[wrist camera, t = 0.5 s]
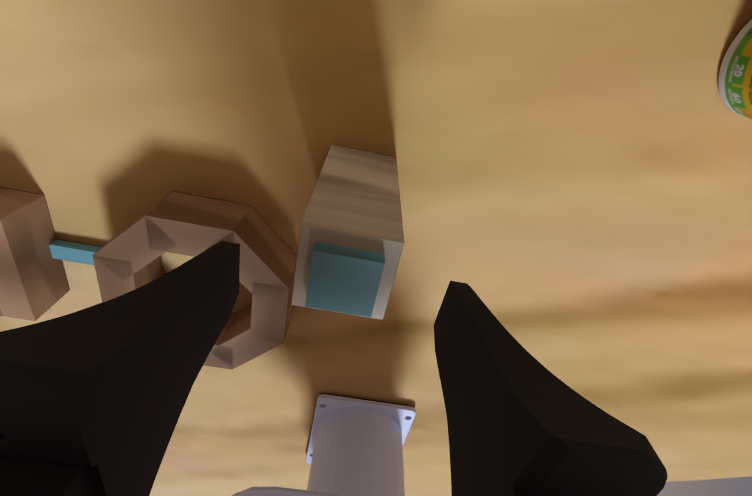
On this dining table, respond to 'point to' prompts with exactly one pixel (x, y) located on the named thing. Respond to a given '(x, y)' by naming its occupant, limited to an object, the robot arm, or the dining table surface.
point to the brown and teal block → (350, 235)
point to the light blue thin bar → (73, 251)
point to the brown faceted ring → (193, 236)
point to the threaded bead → (27, 257)
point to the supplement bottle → (738, 74)
